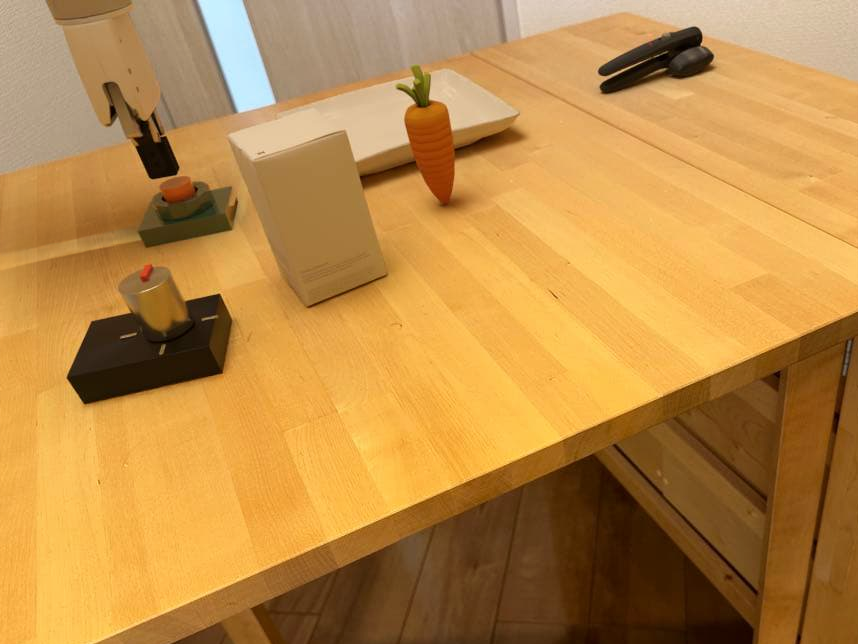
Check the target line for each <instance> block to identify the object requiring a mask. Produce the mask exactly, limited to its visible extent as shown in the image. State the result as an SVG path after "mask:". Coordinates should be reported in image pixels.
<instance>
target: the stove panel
mask: <svg viewBox="0 0 858 644" xmlns="http://www.w3.org/2000/svg"><path fill="white" fill-rule="evenodd" d="M185 301H186V303H187V305H188V307H189V309H190V311H191V313H192V315H193V317H194V323H193V325H192V327H191V328H190V329H189V330H188V331H186V332H185V333H183V334H182V335H180V336H178V337H176V338H173V339H170V340H166V341H161V342H153V341H149V340H147V339H146V338H145V337H144V335H143V333H142V331H141V330H140V328H139V326H138V324H137V323H136V321H135V319H134V317H133V315H132V314H131V312H127V313H123V314H117V315H114V316H113V315H112V316H110V317H105V318H99V319H96V320H91V321H90V324H89V326H88V327H87V330H86V333H85V335H84V336H83V339H82V341H81V343H80V346H79V348H78V350H77V352H76V355H75V357H74V359H73V361H72V363H71V365H70V368H69V371H68V373H67V375H66V380H67V381H68V383H69V384H70V386H71V387H72V389H73V390H74V391H75V393H76V395H77V396H78V398H79V399H80V400H81V402H82V403H83V405H86V404H90V403H95V402H100V401H105V400H108V399H112V398H118V397H121V396H126V395H131V394H136V393H140V392H143V391H149V390H152V389H157V388H163V387H166V386H171V385H175V384H176V385H177V384H180V383H185V382H189V381H193V380H197V379H201V378H202V379H203V378H207V377H211V376H216V375H220V374H223V371H224V365H225V361H226V360H225V359H226V356H227V355H226V354H227V349H228V343H229V338H230V332H231V327H232V321H233V318H232V316H231V314H230V311H229V310H228V307H227V305H226V302H225V301H224V298H223V297H222V294H221V293H215V294H212V295H211V294H210V295H206V296H202V297H197V298H193V299H188V300H185Z"/></svg>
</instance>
